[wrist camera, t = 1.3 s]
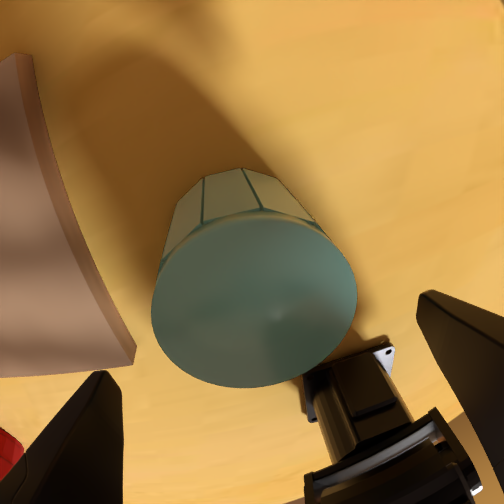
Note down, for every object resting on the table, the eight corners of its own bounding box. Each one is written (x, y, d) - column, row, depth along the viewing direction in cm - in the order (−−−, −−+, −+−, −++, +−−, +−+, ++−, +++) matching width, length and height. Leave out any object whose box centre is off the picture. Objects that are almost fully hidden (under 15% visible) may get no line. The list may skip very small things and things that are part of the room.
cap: (309, 275, 16) (355, 361, 10) (192, 304, 15) (191, 401, 10) (292, 156, 13) (353, 198, 7) (153, 190, 13) (117, 255, 7)
